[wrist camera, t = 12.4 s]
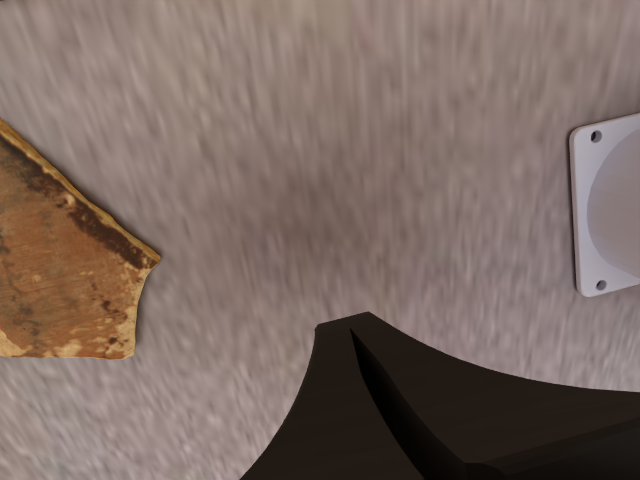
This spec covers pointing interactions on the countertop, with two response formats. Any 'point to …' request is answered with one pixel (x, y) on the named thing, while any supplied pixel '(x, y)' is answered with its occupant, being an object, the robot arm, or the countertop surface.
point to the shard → (62, 265)
